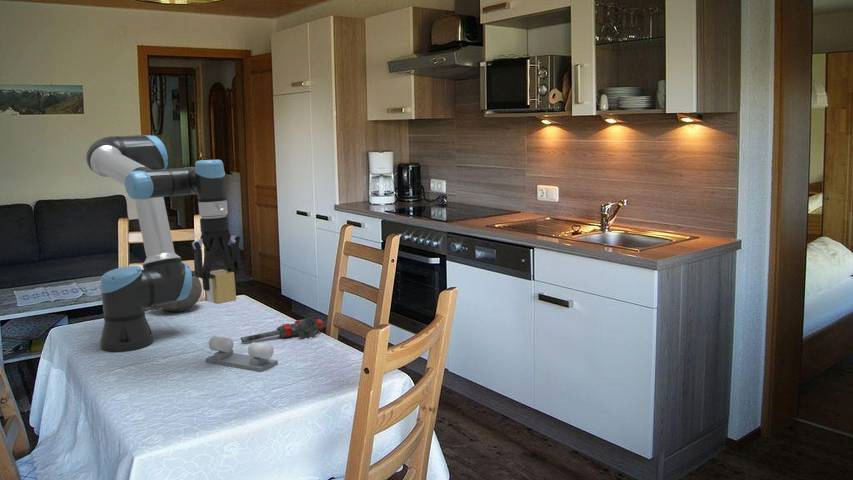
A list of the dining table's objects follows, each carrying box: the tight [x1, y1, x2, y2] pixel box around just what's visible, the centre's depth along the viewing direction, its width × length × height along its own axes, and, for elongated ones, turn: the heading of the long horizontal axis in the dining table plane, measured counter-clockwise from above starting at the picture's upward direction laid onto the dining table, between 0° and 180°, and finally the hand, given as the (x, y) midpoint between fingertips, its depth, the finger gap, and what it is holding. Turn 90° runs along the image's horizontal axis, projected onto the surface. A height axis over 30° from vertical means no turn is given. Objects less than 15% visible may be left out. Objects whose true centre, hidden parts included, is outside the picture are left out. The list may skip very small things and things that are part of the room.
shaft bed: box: [205, 335, 279, 373], centre depth 206 cm, size 20×7×6 cm, turn 62°
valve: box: [240, 318, 324, 343], centre depth 232 cm, size 6×26×15 cm
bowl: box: [156, 271, 203, 313], centre depth 266 cm, size 18×18×13 cm
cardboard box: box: [204, 268, 237, 305], centre depth 204 cm, size 7×6×8 cm
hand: (221, 299), depth 205 cm, fingers closed on cardboard box, 5 cm apart
